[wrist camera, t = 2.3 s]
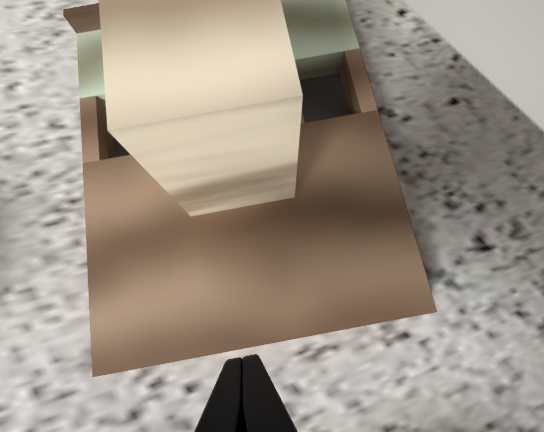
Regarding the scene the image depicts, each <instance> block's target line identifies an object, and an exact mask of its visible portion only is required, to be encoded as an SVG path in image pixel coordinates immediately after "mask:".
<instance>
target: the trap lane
mask: <svg viewBox="0 0 544 432" xmlns="http://www.w3.org/2000/svg"><path fill="white" fill-rule="evenodd" d="M281 4H282V8H283V12H284V17H285V21H286V25H287V30H288V34H289V38H290V42H291V47H292V51H293V55H294V59H295V64H296V68H297V72H298V77H299V81H300V85H301V89H302V94H303V100H302V112H301V125H300V137H299V150H298V162H297V175H296V187H295V197H294V198H289V199H283V200H278V201H273V202H267V203H262V204H256V205H251V206H245V207H240V208H235V209H229V210H224V211H218V212H213V213H207V214H202V215H197V216H190V215H189V214H188V213H187V212H186V211H185V210H184V209H183V208H182V207H181V206H180V205H179V204H178V203H177V202H176V201H175V200H174V199H173V198H172V197H171V196H170V195H169V194H168V193H167V191H166V190H165V189H164V188H163V187H162V186H161V185H160V184H159V183H158V182H157V181H156V180H155V179H154V178H153V177H152V176H151V175H150V174H149V173H148V172H147V171H146V170H145V169H144V168H143V167H142V166H141V165H140V164H139V163H138V162H137V160H136V159H135V158H134V157H133V156H132V155H131V154H130V153H129V152H128V151H127V150H126V149H125V148H124V147H123V146H122V145H121V144H120V143H119V142H118V141H117V140H116V139H115V138H114V137H113V136H112V135H111V134H110V133H109V132H108V130H107V115H106V100H105V85H104V70H103V56H102V41H101V26H100V11H99V3H97V4H91V5H86V6H80V7H74V8H69V9H63V12H64V17H65V18H66V20H67V21H68V22H69V24H70V25H71V26H72V28H73V29H74V30H75V32H76V33H77V47H78V69H79V91H80V113H81V134H82V156H83V178H84V200H85V222H86V243H87V265H88V287H89V309H90V331H91V353H92V374H93V377H96V376H101V375H106V374H112V373H117V372H122V371H128V370H133V369H138V368H143V367H149V366H154V365H159V364H165V363H170V362H175V361H180V360H186V359H191V358H196V357H201V356H207V355H212V354H217V353H223V352H228V351H233V350H238V349H244V348H249V347H254V346H260V345H265V344H270V343H275V342H281V341H286V340H291V339H296V338H302V337H307V336H312V335H318V334H323V333H328V332H333V331H339V330H344V329H349V328H355V327H360V326H365V325H370V324H376V323H381V322H386V321H391V320H397V319H402V318H407V317H413V316H418V315H423V314H428V313H434V312H437V310H436V307H435V303H434V300H433V296H432V293H431V290H430V286H429V283H428V279H427V276H426V272H425V269H424V266H423V262H422V259H421V255H420V252H419V249H418V245H417V242H416V238H415V235H414V232H413V228H412V225H411V221H410V218H409V214H408V211H407V208H406V204H405V201H404V197H403V194H402V191H401V187H400V184H399V180H398V177H397V174H396V170H395V167H394V163H393V160H392V156H391V153H390V150H389V146H388V143H387V139H386V136H385V133H384V129H383V126H382V122H381V119H380V116H379V112H378V109H377V105H376V102H375V98H374V95H373V92H372V88H371V85H370V81H369V78H368V75H367V71H366V68H365V64H364V61H363V58H362V54H361V51H360V47H359V44H358V40H357V37H356V34H355V30H354V27H353V23H352V20H351V17H350V13H349V10H348V6H347V3H346V0H281Z"/></svg>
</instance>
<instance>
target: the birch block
mask: <svg viewBox="0 0 544 432" xmlns="http://www.w3.org/2000/svg"><path fill="white" fill-rule="evenodd" d="M99 11H100V26H101V41H102V56H103V70H104V85H105V100H106V115H107V130H108V132H109V133H110V134H111V135H112V136H113V137H114V138H115V139H116V140H117V141H118V142H119V143H120V144H121V145H122V146H123V147H124V148H125V149H126V150H127V151H128V152H129V153H130V154H131V155H132V156H133V157H134V158H135V159H136V160H137V162H138V163H139V164H140V165H141V166H142V167H143V168H144V169H145V170H146V171H147V172H148V173H149V174H150V175H151V176H152V177H153V178H154V179H155V180H156V181H157V182H158V183H159V184H160V185H161V186H162V187H163V188H164V189H165V190H166V191H167V193H168V194H169V195H170V196H171V197H172V198H173V199H174V200H175V201H176V202H177V203H178V204H179V205H180V206H181V207H182V208H183V209H184V210H185V211H186V212H187V213H188V214H189V215H190V216H197V215H202V214H207V213H213V212H218V211H224V210H229V209H235V208H240V207H245V206H251V205H256V204H262V203H267V202H273V201H278V200H283V199H289V198H294V197H295V187H296V175H297V162H298V150H299V137H300V125H301V112H302V100H303V94H302V89H301V85H300V81H299V77H298V72H297V68H296V64H295V59H294V55H293V51H292V47H291V42H290V38H289V34H288V30H287V25H286V21H285V17H284V12H283V8H282V4H281V0H99Z"/></svg>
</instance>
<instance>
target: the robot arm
mask: <svg viewBox="0 0 544 432" xmlns="http://www.w3.org/2000/svg"><path fill="white" fill-rule="evenodd" d="M194 432H298V431H297V429H296V427H295V425H294V424H293V422H292V420H291V418H290V416H289V414H288V412H287V410H286V408H285V406H284V404H283V402H282V400H281V398H280V396H279V394H278V392H277V390H276V389H275V387H274V385H273V383H272V381H271V379H270V377H269V375H268V373H267V371H266V369H265V367H264V365H263V363H262V361H261V359H260V357H259V356H258V355H257V354H254V355H249V356H245V357H243V359H242V358H241V357H238V358H233V359H229V360H227V361H226V362H225V364H224V366H223V369H222V371H221V373H220V375H219V377H218V380H217V382H216V384H215V386H214V389H213V391H212V393H211V395H210V398H209V400H208V402H207V404H206V407H205V409H204V411H203V413H202V416H201V418H200V420H199V422H198V425H197V427H196V429H195V431H194Z"/></svg>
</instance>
